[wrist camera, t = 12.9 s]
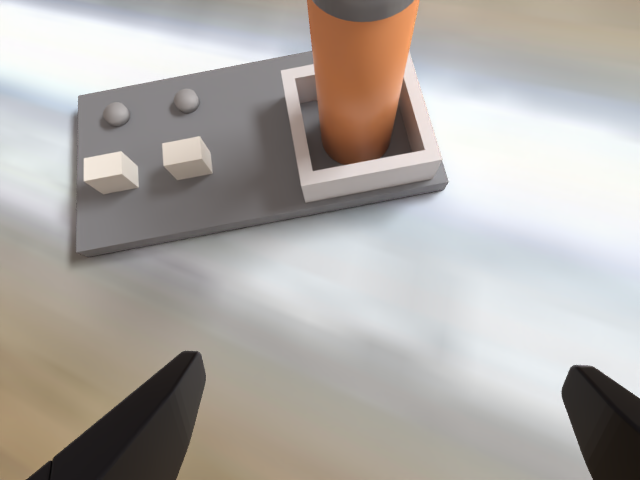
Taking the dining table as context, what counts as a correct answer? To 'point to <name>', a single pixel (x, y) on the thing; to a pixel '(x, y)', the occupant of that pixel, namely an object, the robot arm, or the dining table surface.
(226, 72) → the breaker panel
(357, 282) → the dining table surface
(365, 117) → the capped spray can
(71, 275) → the dining table surface
